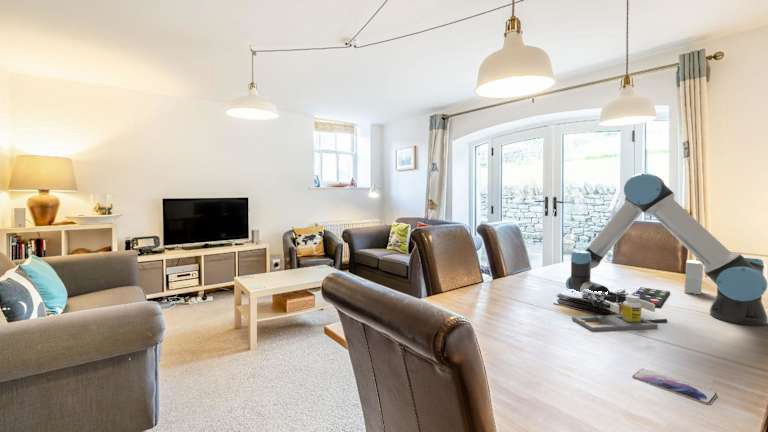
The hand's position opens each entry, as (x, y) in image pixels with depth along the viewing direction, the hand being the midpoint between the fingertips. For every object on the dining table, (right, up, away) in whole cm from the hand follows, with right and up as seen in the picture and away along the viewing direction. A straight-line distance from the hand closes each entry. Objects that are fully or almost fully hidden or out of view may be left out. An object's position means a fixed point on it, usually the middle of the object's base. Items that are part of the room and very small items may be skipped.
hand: (636, 308), depth 125 cm
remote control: (+30, -5, +34) cm, 46 cm away
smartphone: (-19, -9, -39) cm, 45 cm away
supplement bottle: (0, -6, +2) cm, 6 cm away
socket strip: (-3, -6, +2) cm, 7 cm away
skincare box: (+57, -3, +42) cm, 70 cm away
